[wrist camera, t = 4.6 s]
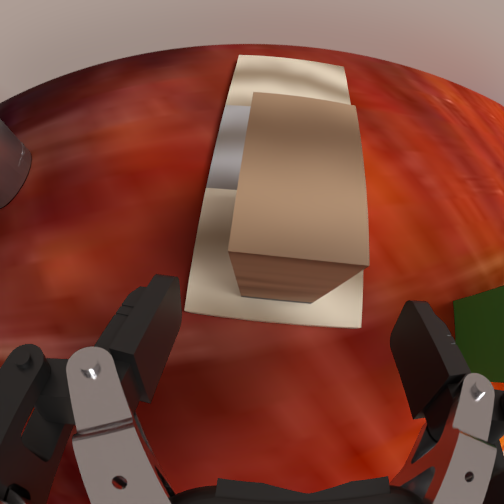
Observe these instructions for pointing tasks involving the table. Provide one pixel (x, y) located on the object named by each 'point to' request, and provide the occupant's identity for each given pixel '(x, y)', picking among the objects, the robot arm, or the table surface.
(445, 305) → the table surface
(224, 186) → the board
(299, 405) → the table surface
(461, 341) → the hardback book
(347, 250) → the block
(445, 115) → the table surface
